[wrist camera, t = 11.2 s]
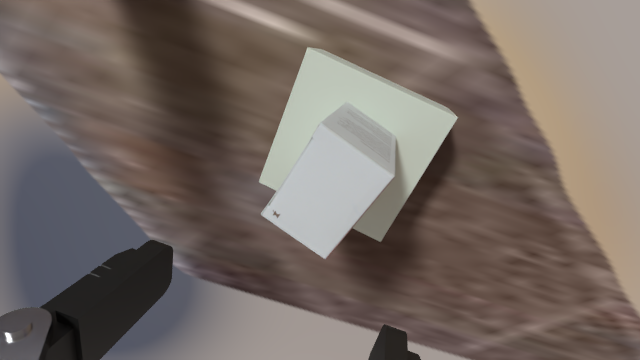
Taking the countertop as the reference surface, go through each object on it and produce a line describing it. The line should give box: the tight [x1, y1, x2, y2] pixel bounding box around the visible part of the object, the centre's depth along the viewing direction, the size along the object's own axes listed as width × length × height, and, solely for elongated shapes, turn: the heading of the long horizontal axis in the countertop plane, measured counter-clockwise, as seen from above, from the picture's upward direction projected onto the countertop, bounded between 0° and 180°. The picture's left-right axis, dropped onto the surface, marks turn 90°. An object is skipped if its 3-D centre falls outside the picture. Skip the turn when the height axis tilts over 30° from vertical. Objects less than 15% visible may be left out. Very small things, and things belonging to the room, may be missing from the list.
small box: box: [261, 102, 396, 259], centre depth 24 cm, size 8×6×10 cm
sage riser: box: [259, 47, 458, 242], centre depth 32 cm, size 14×14×6 cm
